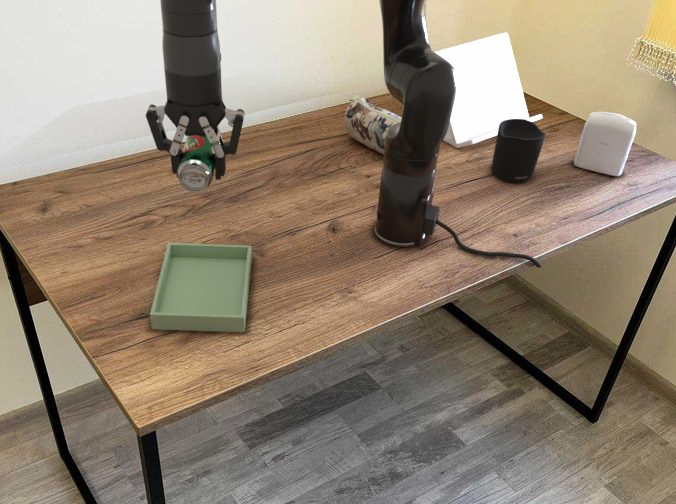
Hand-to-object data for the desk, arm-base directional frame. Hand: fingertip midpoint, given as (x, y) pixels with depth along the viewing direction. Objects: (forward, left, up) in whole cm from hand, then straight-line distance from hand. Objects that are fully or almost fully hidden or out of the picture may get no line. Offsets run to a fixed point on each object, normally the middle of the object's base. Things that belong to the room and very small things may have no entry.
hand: (199, 175), depth 111 cm
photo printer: (-59, -69, -20) cm, 93 cm away
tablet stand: (-31, -79, -20) cm, 87 cm away
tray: (-1, +3, -19) cm, 20 cm away
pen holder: (-42, -59, -20) cm, 75 cm away
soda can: (+2, -7, +2) cm, 7 cm away
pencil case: (-15, -57, -20) cm, 62 cm away
